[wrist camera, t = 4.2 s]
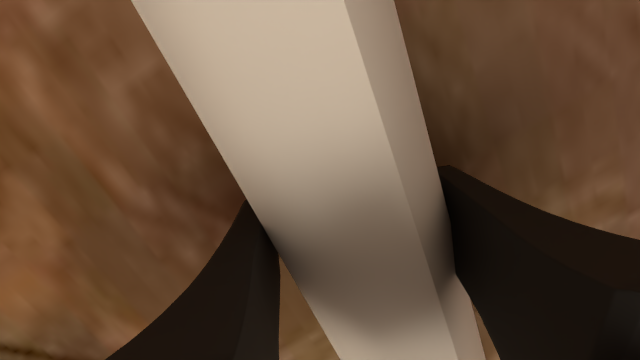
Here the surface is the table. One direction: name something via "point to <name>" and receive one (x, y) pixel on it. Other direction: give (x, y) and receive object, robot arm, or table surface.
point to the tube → (329, 162)
